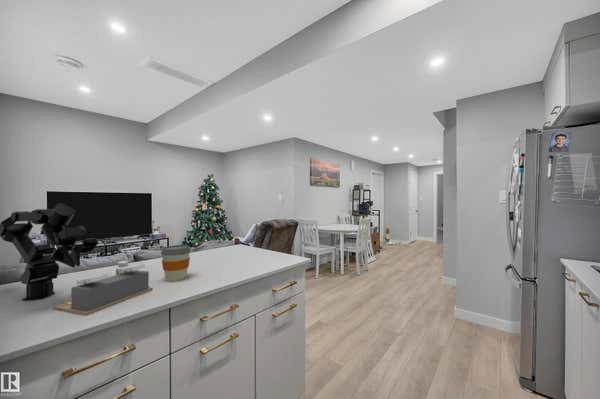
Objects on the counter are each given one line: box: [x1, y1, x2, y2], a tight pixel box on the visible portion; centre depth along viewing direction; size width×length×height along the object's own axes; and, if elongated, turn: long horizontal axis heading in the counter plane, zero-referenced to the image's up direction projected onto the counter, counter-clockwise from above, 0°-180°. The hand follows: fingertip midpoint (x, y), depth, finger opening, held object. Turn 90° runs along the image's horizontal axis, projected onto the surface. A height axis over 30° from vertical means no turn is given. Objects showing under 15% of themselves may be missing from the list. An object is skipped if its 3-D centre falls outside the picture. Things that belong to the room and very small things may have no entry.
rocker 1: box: [76, 273, 110, 286], centre depth 83 cm, size 8×5×2 cm, turn 73°
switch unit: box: [51, 269, 153, 316], centre depth 91 cm, size 17×24×8 cm
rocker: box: [118, 263, 146, 273], centre depth 96 cm, size 8×5×2 cm, turn 73°
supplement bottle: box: [115, 260, 131, 275], centre depth 109 cm, size 5×5×10 cm
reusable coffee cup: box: [161, 244, 191, 282], centre depth 115 cm, size 13×13×15 cm
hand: (76, 266), depth 86 cm, fingers closed
